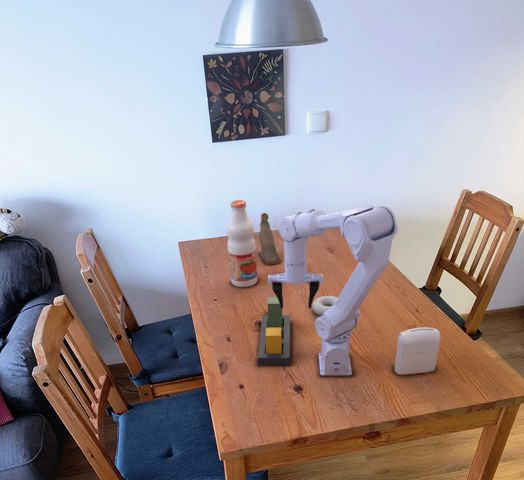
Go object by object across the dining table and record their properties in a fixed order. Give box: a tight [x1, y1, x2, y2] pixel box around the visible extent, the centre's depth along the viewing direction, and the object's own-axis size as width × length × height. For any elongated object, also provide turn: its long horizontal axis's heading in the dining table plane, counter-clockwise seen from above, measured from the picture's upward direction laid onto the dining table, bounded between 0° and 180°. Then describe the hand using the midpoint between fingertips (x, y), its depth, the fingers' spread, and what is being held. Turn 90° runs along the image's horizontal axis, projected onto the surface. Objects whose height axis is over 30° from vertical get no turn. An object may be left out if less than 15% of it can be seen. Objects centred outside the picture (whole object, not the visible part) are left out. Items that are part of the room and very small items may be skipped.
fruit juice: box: [226, 199, 258, 288], centre depth 160 cm, size 9×9×28 cm
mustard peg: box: [266, 327, 283, 354], centre depth 129 cm, size 4×4×8 cm
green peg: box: [267, 296, 284, 327], centre depth 139 cm, size 4×4×10 cm
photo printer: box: [394, 326, 441, 376], centre depth 120 cm, size 10×4×12 cm, turn 96°
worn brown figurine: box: [258, 212, 280, 266], centre depth 180 cm, size 12×6×18 cm, turn 11°
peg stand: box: [257, 314, 291, 366], centre depth 136 cm, size 22×8×2 cm, turn 177°
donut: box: [311, 295, 339, 317], centre depth 148 cm, size 10×4×10 cm
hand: (295, 306), depth 132 cm, fingers open, 7 cm apart
